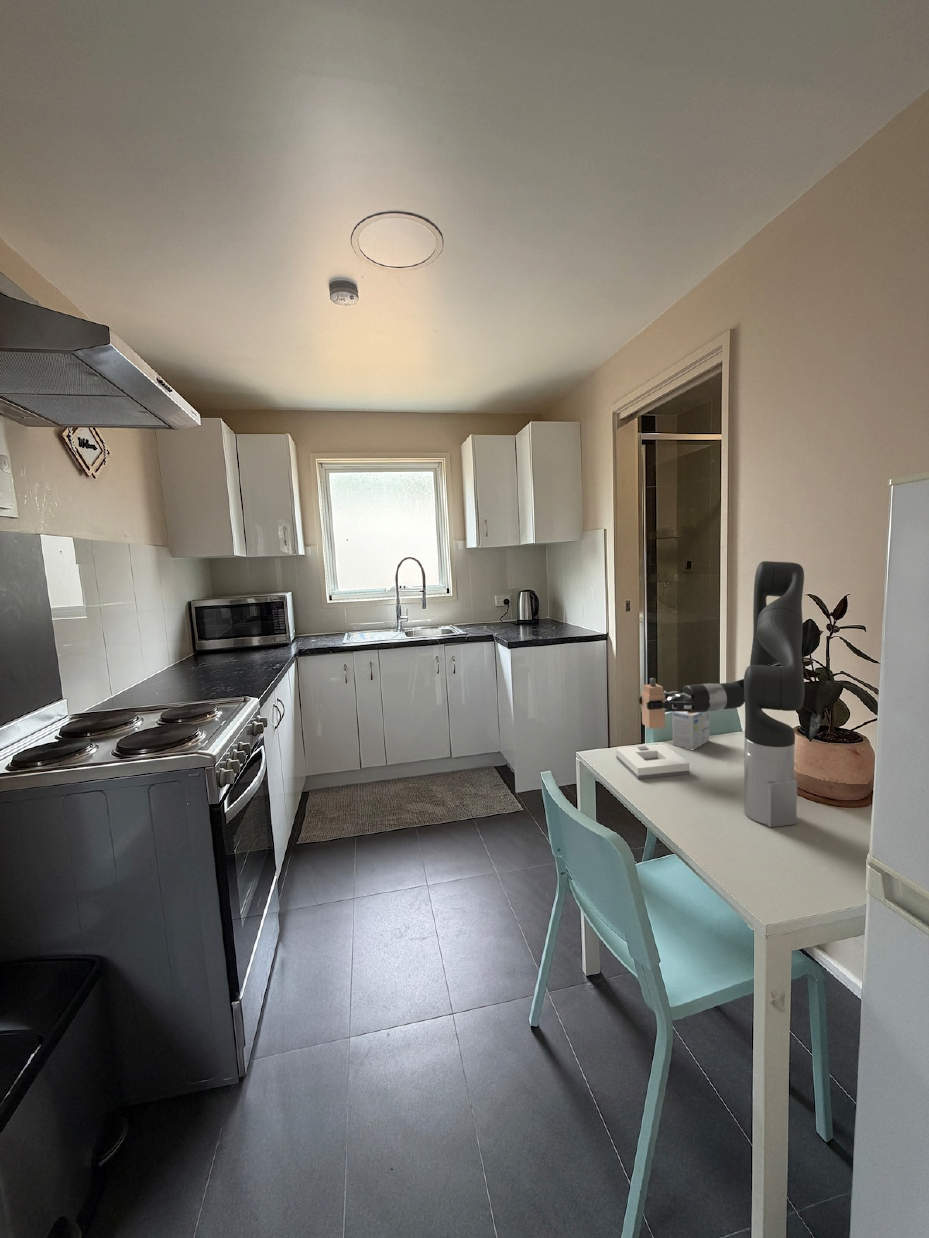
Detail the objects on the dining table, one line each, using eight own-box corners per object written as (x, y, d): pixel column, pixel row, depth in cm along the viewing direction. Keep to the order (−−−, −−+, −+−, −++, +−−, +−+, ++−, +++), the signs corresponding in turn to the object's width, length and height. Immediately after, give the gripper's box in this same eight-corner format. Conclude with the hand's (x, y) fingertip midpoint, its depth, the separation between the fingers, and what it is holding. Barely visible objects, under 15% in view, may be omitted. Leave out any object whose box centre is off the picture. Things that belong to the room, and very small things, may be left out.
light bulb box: (688, 735, 160) (688, 702, 158) (710, 741, 155) (710, 706, 153) (671, 745, 153) (671, 710, 152) (693, 751, 148) (693, 715, 146)
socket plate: (689, 774, 133) (689, 761, 132) (637, 779, 131) (637, 767, 131) (663, 753, 147) (662, 743, 146) (616, 758, 145) (616, 747, 145)
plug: (665, 727, 136) (664, 679, 134) (649, 728, 136) (648, 681, 134) (657, 722, 140) (656, 676, 139) (642, 723, 140) (641, 677, 138)
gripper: (689, 678, 145) (631, 683, 143) (719, 691, 131) (655, 696, 129) (689, 703, 146) (632, 708, 144) (718, 719, 132) (655, 724, 130)
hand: (643, 702), depth 137 cm, fingers closed on plug, 4 cm apart
